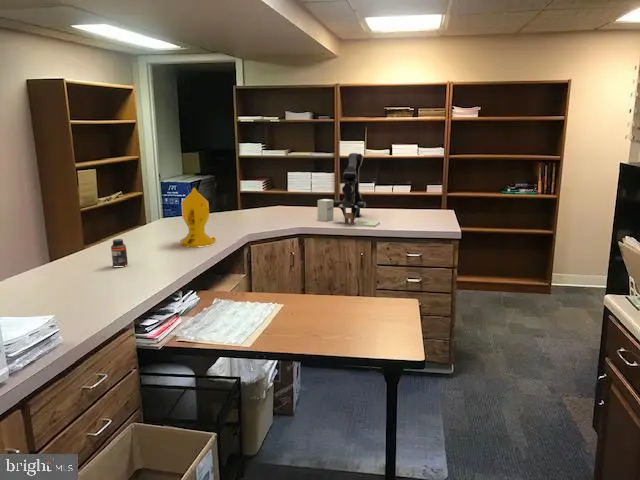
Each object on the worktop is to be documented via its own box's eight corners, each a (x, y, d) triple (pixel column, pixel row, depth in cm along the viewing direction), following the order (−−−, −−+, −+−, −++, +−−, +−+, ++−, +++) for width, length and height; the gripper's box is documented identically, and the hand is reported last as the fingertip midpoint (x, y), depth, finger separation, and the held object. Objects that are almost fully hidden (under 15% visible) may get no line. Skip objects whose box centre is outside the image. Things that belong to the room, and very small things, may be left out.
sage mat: (360, 221, 315) (360, 220, 314) (379, 223, 311) (379, 221, 311) (355, 225, 304) (355, 223, 303) (375, 226, 300) (375, 225, 300)
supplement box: (326, 221, 316) (326, 201, 313) (317, 220, 320) (317, 200, 317) (333, 219, 321) (333, 199, 319) (324, 218, 326) (324, 198, 323)
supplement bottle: (123, 263, 223) (120, 237, 221) (130, 265, 220) (128, 239, 217) (110, 266, 219) (107, 240, 216) (117, 268, 215) (115, 242, 213)
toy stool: (346, 222, 313) (346, 212, 312) (354, 223, 311) (354, 213, 310) (344, 224, 308) (344, 214, 307) (352, 224, 307) (352, 214, 305)
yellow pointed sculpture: (204, 237, 274) (202, 184, 268) (224, 245, 255) (222, 188, 248) (172, 241, 264) (168, 186, 258) (190, 250, 245) (187, 191, 239)
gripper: (330, 193, 301) (330, 220, 305) (361, 195, 295) (361, 222, 299) (336, 191, 311) (335, 216, 315) (366, 192, 305) (365, 218, 309)
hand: (349, 218), depth 309 cm, fingers closed on toy stool, 5 cm apart
